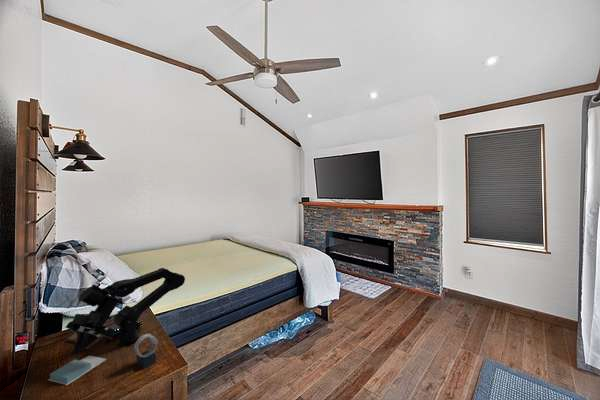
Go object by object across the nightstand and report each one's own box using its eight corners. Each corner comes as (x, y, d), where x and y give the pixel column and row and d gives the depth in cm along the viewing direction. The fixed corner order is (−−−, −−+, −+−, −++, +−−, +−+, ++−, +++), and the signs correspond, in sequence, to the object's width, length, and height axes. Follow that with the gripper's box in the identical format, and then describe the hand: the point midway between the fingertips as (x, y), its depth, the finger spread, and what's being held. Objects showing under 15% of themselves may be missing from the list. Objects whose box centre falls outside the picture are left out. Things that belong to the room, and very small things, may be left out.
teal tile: (74, 359, 99) (50, 373, 91) (91, 363, 97) (67, 378, 89) (74, 364, 99) (50, 379, 91) (91, 368, 97) (67, 383, 89)
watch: (160, 360, 103) (160, 332, 102) (139, 371, 96) (138, 342, 96) (153, 355, 106) (152, 328, 105) (131, 366, 99) (131, 337, 99)
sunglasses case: (62, 340, 115) (71, 324, 118) (78, 341, 121) (86, 325, 123) (88, 350, 108) (97, 332, 111) (104, 350, 114) (111, 333, 117)
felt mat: (89, 356, 105) (89, 355, 105) (106, 359, 102) (106, 359, 102) (47, 380, 91) (47, 379, 91) (67, 385, 89) (67, 385, 89)
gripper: (70, 300, 102) (36, 344, 92) (107, 306, 97) (76, 353, 87) (91, 311, 110) (62, 352, 100) (126, 317, 105) (100, 361, 95)
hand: (74, 354), depth 95 cm, fingers closed
